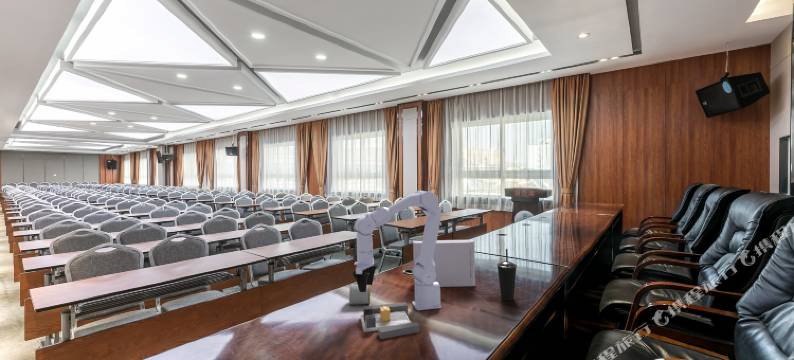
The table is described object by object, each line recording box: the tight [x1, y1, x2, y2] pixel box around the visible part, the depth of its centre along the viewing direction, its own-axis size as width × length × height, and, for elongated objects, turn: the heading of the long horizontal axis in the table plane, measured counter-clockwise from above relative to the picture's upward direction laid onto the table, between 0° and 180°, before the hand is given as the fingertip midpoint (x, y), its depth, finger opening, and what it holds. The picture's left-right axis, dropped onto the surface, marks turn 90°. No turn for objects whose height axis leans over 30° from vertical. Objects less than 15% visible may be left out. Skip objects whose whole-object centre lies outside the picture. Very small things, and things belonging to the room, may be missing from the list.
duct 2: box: [377, 321, 421, 340], centre depth 113 cm, size 13×3×2 cm, turn 110°
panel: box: [360, 305, 412, 333], centre depth 121 cm, size 16×11×4 cm
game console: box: [412, 239, 476, 288], centre depth 159 cm, size 6×27×20 cm, turn 89°
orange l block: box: [380, 306, 390, 321], centre depth 121 cm, size 3×3×4 cm
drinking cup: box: [496, 248, 518, 302], centre depth 140 cm, size 8×8×20 cm
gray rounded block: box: [348, 283, 371, 306], centre depth 141 cm, size 11×8×8 cm
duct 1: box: [371, 301, 409, 314], centre depth 129 cm, size 13×3×3 cm, turn 101°
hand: (366, 288), depth 127 cm, fingers open, 7 cm apart
